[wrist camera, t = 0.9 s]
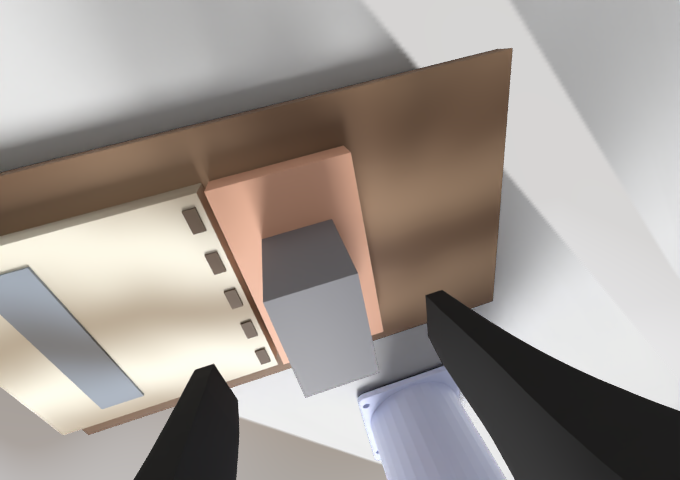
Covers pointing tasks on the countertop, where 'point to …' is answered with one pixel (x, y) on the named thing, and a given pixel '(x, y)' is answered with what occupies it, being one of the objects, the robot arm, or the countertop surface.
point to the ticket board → (211, 245)
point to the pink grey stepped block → (305, 263)
